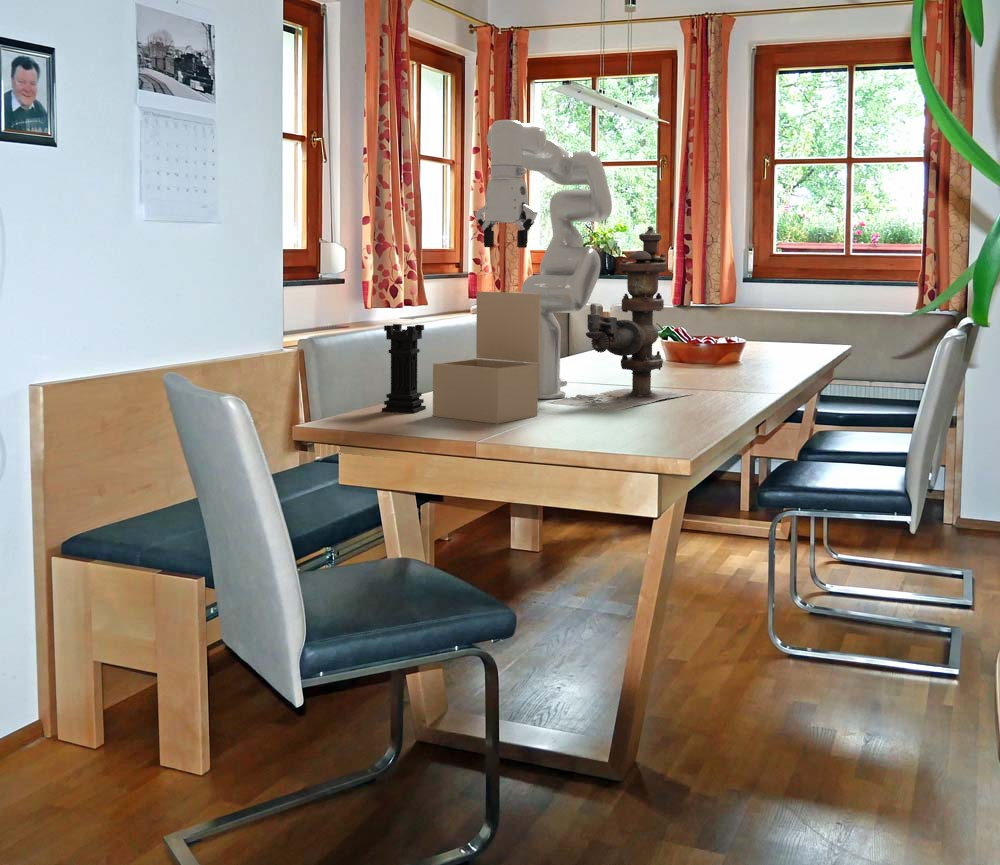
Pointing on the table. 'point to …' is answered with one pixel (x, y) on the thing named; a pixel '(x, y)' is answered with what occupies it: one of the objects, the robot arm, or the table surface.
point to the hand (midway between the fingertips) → (505, 247)
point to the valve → (631, 332)
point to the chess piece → (403, 369)
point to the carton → (485, 390)
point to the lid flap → (508, 326)
